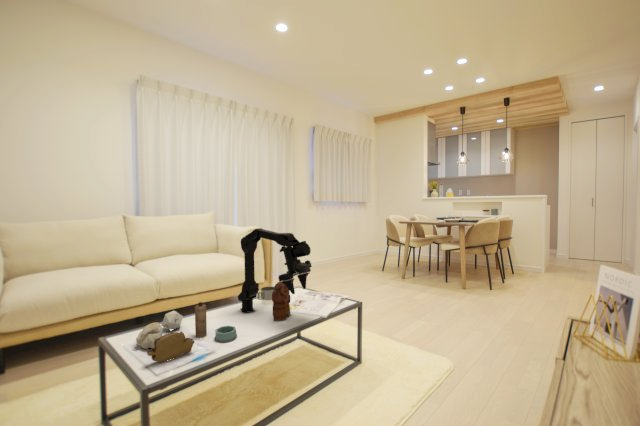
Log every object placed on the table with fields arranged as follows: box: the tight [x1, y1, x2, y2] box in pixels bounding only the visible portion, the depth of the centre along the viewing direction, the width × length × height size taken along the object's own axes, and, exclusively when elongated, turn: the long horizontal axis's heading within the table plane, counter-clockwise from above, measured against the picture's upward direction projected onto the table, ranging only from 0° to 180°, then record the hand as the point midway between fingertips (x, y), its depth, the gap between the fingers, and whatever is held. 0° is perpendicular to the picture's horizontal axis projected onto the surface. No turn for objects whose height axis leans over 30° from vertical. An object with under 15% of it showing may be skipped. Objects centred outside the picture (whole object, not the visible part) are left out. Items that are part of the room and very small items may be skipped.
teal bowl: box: [214, 325, 238, 344], centre depth 137 cm, size 9×9×4 cm
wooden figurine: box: [271, 281, 291, 322], centre depth 161 cm, size 12×6×18 cm, turn 161°
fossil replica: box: [136, 321, 163, 350], centre depth 131 cm, size 12×8×10 cm
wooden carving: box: [146, 331, 195, 363], centre depth 120 cm, size 16×5×10 cm, turn 136°
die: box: [160, 310, 184, 330], centre depth 147 cm, size 8×9×10 cm
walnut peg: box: [194, 302, 207, 339], centre depth 140 cm, size 4×4×15 cm
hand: (299, 291), depth 152 cm, fingers open, 9 cm apart
